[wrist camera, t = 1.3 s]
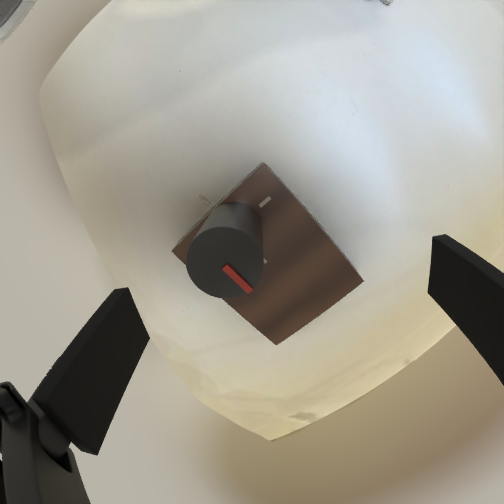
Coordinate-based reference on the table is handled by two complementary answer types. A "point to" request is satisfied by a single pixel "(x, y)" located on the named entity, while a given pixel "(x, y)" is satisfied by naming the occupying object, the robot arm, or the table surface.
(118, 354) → the robot arm
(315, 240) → the wood base dial
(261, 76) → the table surface
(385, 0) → the game controller
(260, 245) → the black knob
